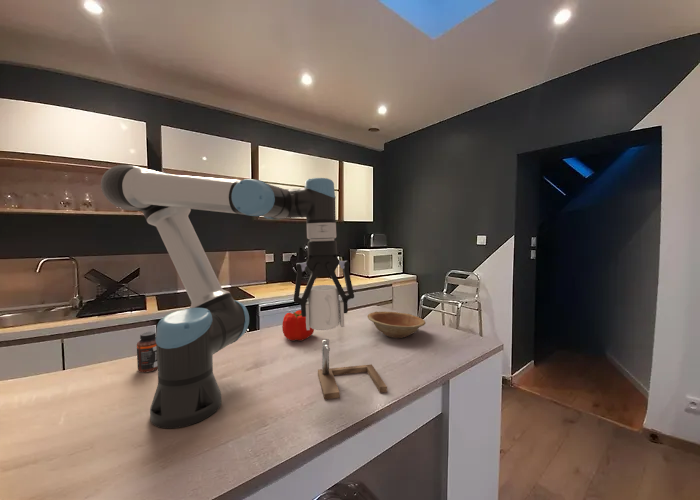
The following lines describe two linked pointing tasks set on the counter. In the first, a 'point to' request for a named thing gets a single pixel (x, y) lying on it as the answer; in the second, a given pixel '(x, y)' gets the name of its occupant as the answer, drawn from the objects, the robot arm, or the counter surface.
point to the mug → (323, 307)
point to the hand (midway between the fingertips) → (325, 327)
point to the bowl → (396, 323)
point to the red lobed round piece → (295, 326)
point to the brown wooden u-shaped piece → (329, 381)
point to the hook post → (325, 356)
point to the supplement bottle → (147, 352)
